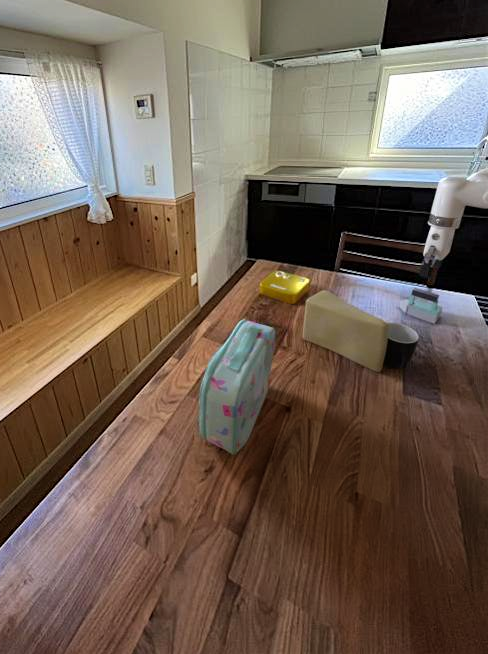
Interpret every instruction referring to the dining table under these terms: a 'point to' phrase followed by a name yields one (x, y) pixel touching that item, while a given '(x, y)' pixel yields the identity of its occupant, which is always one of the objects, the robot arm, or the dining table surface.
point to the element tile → (284, 287)
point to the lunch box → (236, 386)
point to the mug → (400, 346)
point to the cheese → (345, 330)
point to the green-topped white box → (422, 306)
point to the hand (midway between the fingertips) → (429, 271)
